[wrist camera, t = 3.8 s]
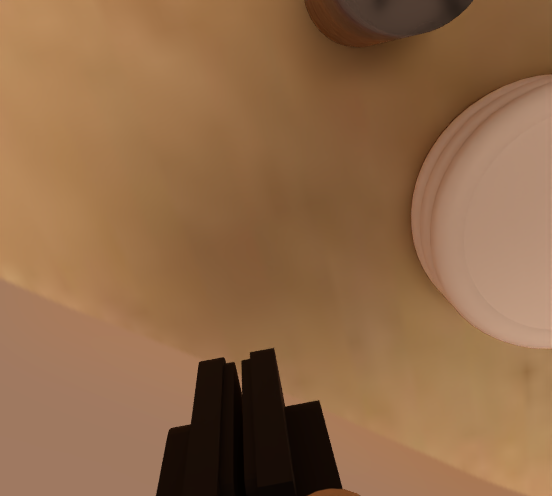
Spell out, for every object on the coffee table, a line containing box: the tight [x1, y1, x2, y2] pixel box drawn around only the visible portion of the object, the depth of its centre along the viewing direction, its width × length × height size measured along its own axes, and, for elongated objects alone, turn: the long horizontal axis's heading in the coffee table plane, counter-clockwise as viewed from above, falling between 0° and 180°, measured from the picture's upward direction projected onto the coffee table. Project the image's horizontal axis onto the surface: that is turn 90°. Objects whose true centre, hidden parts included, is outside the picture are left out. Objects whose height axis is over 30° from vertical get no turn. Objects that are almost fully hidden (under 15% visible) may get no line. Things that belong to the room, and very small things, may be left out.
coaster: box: [411, 74, 552, 349], centre depth 19 cm, size 10×10×4 cm
